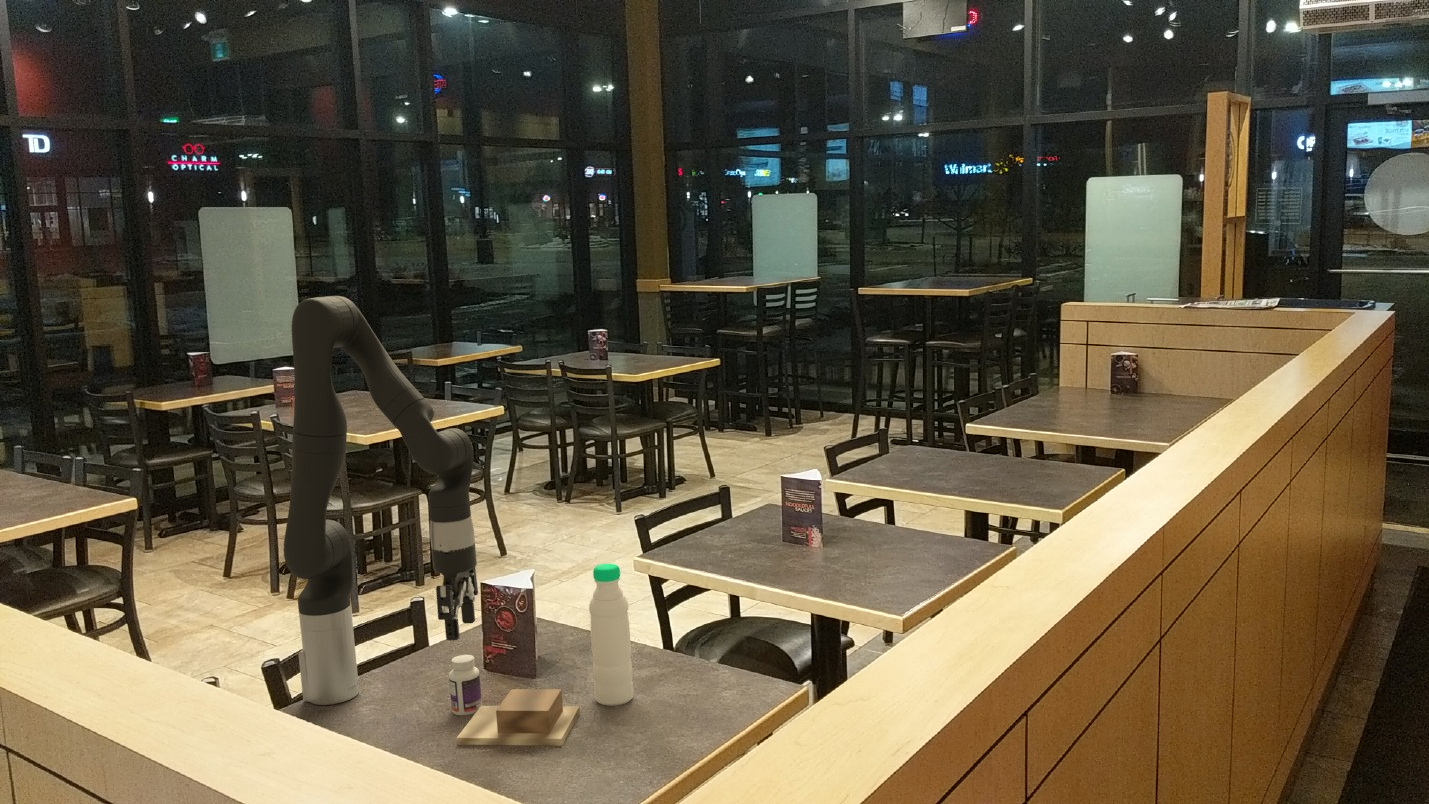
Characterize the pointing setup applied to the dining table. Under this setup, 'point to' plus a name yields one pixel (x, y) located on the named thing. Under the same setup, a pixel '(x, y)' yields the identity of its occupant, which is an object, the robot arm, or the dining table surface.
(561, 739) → the beech board
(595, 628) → the water bottle
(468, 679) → the pill bottle
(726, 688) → the dining table surface
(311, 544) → the robot arm
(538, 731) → the walnut block
